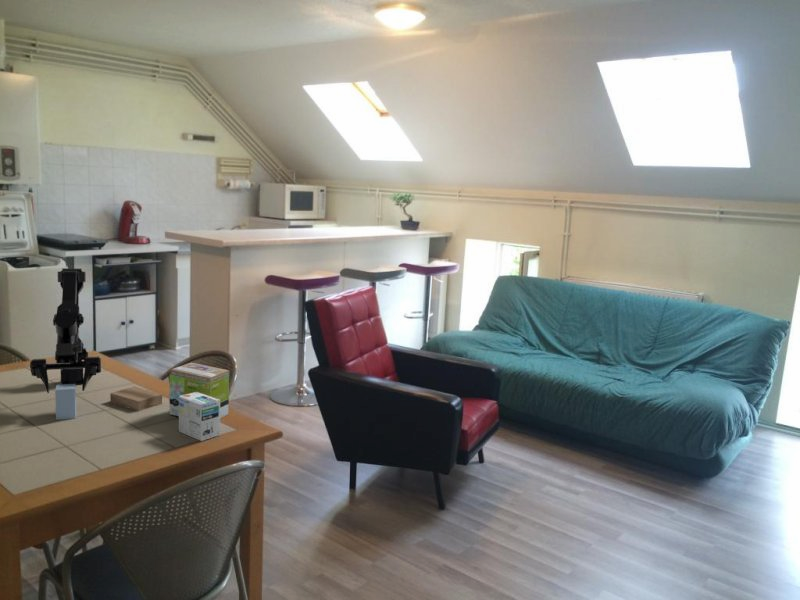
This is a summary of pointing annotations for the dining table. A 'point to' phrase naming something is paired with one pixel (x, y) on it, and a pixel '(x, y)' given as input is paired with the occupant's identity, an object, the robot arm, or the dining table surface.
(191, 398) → the light bulb box
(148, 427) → the dining table surface
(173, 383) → the tea box
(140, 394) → the stack block
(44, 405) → the dining table surface
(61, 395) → the pillar block
